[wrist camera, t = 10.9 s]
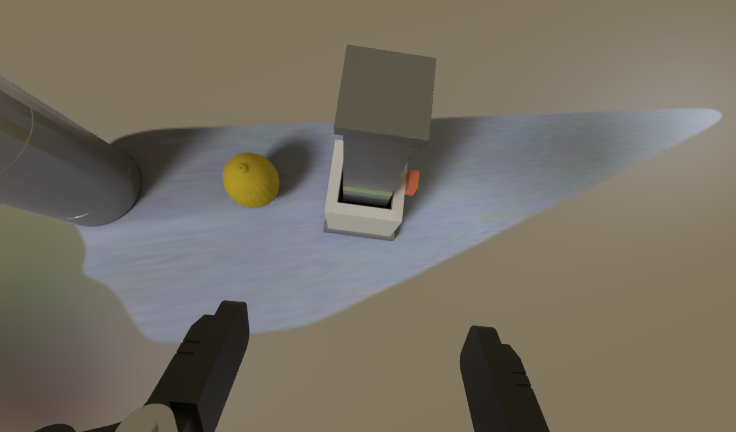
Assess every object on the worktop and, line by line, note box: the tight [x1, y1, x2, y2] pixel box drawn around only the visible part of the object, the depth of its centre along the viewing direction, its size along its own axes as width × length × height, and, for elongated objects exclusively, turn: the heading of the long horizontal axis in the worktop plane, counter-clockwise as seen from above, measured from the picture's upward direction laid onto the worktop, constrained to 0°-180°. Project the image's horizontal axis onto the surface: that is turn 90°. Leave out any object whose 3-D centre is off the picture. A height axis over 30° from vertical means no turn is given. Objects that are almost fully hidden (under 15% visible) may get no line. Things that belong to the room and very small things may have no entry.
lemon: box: [223, 153, 280, 208], centre depth 37 cm, size 6×6×8 cm
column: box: [334, 45, 436, 209], centre depth 26 cm, size 5×5×17 cm
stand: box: [324, 140, 419, 241], centre depth 35 cm, size 8×8×12 cm
